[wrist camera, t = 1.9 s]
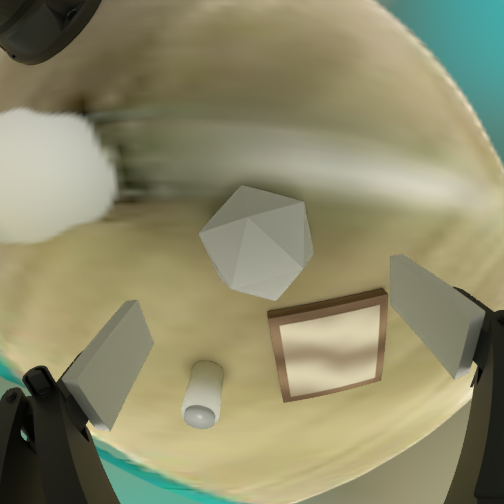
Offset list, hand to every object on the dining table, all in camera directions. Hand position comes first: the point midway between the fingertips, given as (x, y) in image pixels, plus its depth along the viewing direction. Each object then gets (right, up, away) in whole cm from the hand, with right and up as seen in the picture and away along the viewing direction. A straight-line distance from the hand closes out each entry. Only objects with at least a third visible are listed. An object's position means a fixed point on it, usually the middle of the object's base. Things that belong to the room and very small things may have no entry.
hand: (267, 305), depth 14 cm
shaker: (-6, -12, +18) cm, 23 cm away
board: (+8, -9, +17) cm, 21 cm away
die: (0, +4, +13) cm, 14 cm away
